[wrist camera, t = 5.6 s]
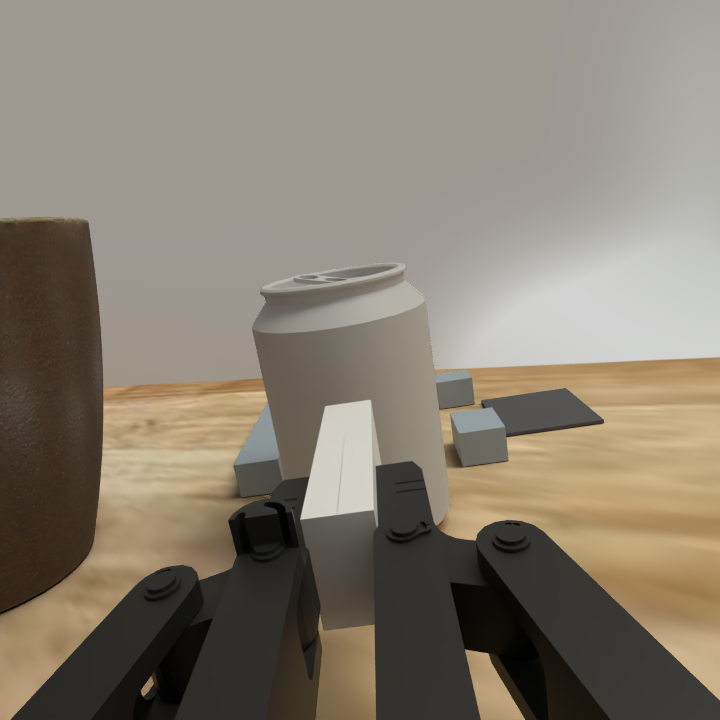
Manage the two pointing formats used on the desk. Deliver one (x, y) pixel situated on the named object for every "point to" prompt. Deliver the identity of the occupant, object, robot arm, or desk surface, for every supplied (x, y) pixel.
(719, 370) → the desk surface
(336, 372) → the can
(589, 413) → the trap square
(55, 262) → the dark brown curved piece
